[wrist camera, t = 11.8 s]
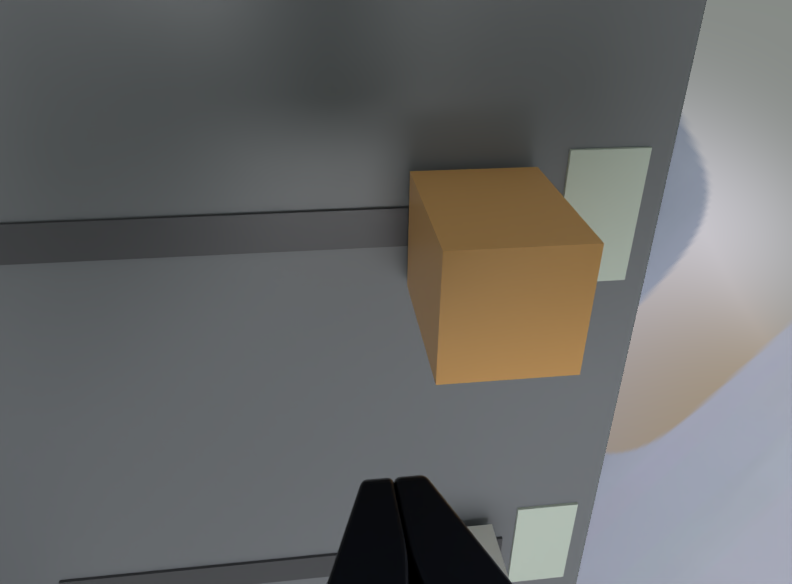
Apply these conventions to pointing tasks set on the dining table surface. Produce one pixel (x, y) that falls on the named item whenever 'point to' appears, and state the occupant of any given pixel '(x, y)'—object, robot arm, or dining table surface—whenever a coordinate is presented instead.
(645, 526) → the dining table surface
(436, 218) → the lever
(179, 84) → the grey flat rectangular board
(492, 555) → the lever
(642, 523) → the dining table surface
